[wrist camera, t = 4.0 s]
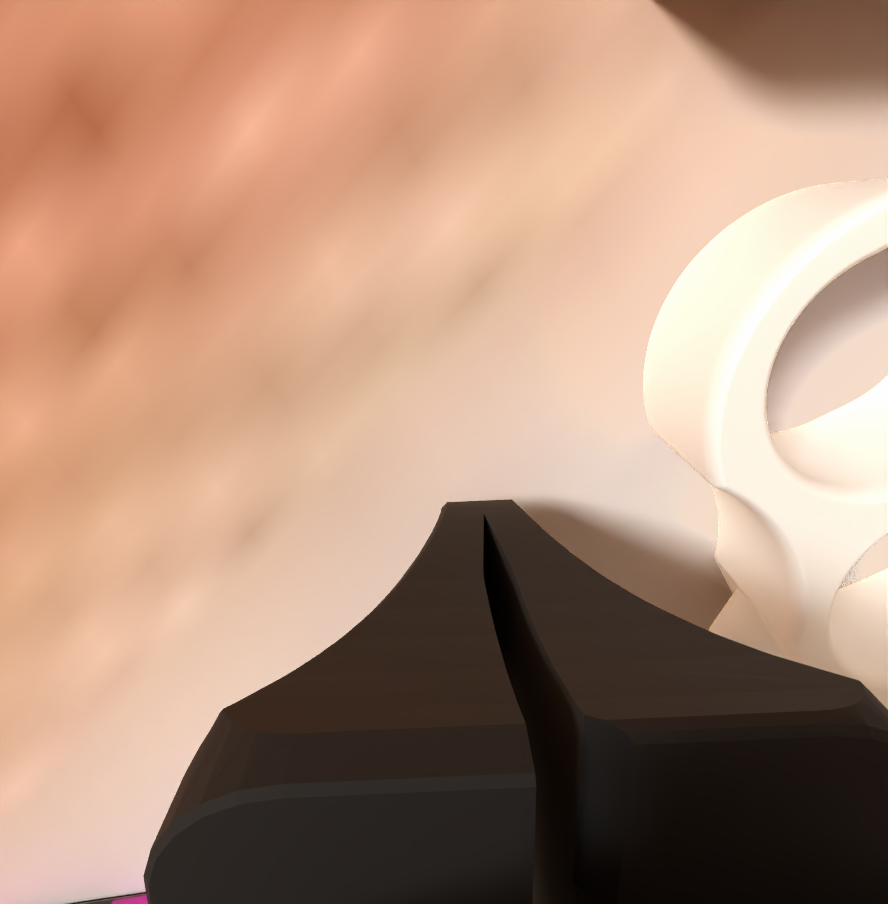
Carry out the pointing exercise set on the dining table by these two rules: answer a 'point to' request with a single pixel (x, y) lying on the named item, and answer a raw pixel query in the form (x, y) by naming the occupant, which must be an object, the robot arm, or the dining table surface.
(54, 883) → the dining table surface
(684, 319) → the white brass knuckles
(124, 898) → the candy bar box
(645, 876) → the robot arm
